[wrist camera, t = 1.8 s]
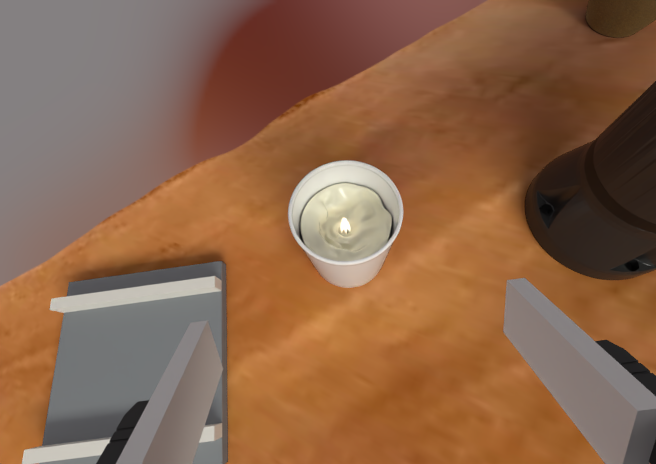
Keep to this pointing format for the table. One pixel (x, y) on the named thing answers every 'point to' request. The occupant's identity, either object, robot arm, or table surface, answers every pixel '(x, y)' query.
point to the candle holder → (346, 220)
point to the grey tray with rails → (129, 357)
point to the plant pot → (620, 16)
